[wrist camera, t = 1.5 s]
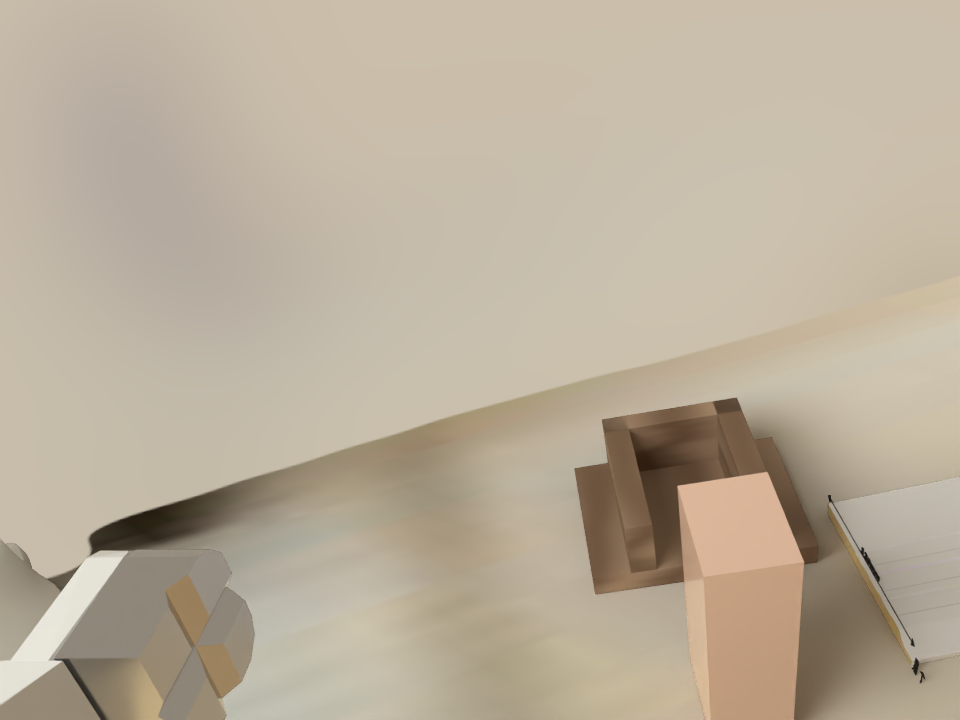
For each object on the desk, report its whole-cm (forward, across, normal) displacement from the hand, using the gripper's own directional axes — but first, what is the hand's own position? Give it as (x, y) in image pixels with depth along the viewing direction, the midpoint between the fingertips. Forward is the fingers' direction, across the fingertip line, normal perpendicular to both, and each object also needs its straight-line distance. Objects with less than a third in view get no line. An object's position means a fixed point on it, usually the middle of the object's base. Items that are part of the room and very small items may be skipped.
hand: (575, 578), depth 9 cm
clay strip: (+24, +2, -34) cm, 41 cm away
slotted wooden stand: (+36, 0, -32) cm, 48 cm away
